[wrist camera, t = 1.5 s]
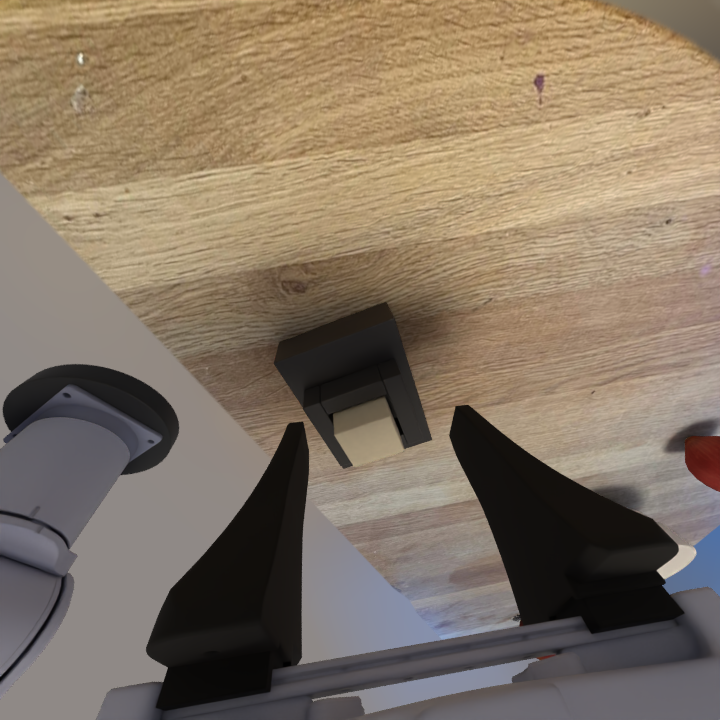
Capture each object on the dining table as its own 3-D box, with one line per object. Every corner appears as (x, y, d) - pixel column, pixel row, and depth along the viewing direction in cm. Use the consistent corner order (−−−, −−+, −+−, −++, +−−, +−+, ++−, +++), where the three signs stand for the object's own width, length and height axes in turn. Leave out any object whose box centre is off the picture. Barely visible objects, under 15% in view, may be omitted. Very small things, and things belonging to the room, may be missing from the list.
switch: (398, 429, 20) (405, 451, 18) (351, 445, 20) (354, 468, 19) (384, 394, 18) (390, 416, 16) (332, 412, 18) (333, 435, 17)
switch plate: (422, 417, 25) (440, 458, 22) (341, 444, 26) (344, 488, 22) (385, 301, 19) (401, 331, 15) (278, 342, 20) (268, 380, 16)
